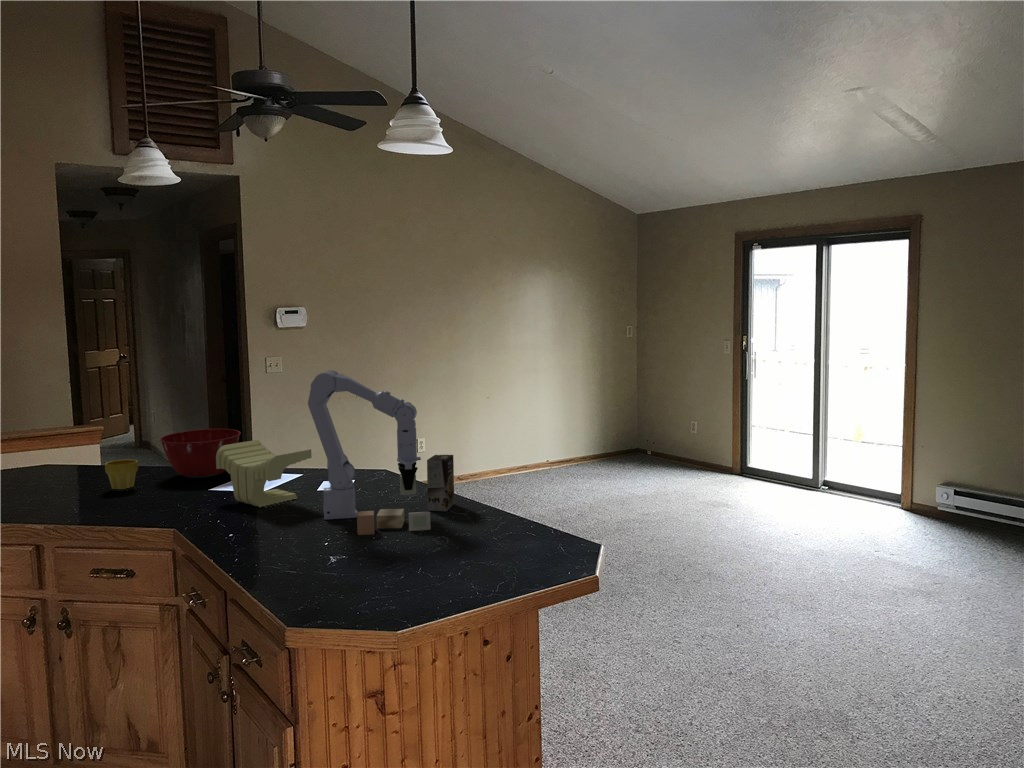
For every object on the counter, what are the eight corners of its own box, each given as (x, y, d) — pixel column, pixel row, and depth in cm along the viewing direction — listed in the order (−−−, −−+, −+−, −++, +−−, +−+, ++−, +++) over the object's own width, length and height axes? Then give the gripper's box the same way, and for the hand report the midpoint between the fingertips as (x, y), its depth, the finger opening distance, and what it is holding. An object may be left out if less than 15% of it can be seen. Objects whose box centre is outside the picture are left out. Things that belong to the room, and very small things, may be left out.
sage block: (400, 494, 237) (400, 476, 236) (400, 491, 241) (399, 473, 241) (416, 494, 238) (415, 476, 237) (415, 490, 242) (415, 472, 242)
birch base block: (376, 529, 227) (376, 515, 226) (380, 522, 234) (380, 509, 233) (401, 528, 227) (401, 515, 226) (404, 522, 234) (404, 508, 233)
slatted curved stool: (218, 499, 262) (215, 446, 260) (260, 490, 275) (258, 439, 273) (270, 514, 243) (267, 457, 241) (313, 503, 255) (311, 449, 254)
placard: (409, 531, 224) (408, 513, 223) (409, 529, 225) (408, 512, 224) (430, 529, 224) (430, 512, 224) (430, 528, 226) (429, 511, 225)
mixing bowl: (194, 487, 281) (192, 444, 279) (145, 478, 296) (143, 437, 294) (258, 471, 305) (256, 432, 303) (210, 464, 320) (208, 426, 318)
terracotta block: (357, 535, 221) (356, 516, 220) (358, 530, 225) (357, 511, 224) (374, 534, 221) (373, 515, 221) (374, 529, 226) (373, 510, 225)
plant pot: (129, 484, 286) (128, 457, 285) (145, 488, 280) (143, 460, 279) (101, 490, 278) (99, 462, 277) (116, 494, 272) (114, 466, 270)
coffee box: (447, 511, 243) (446, 460, 242) (427, 510, 245) (425, 459, 243) (455, 504, 252) (454, 454, 251) (435, 503, 254) (434, 453, 252)
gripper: (421, 447, 232) (422, 492, 233) (418, 438, 246) (419, 481, 247) (397, 448, 230) (398, 494, 232) (395, 439, 245) (397, 483, 246)
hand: (408, 487), depth 239 cm, fingers closed on sage block, 5 cm apart
